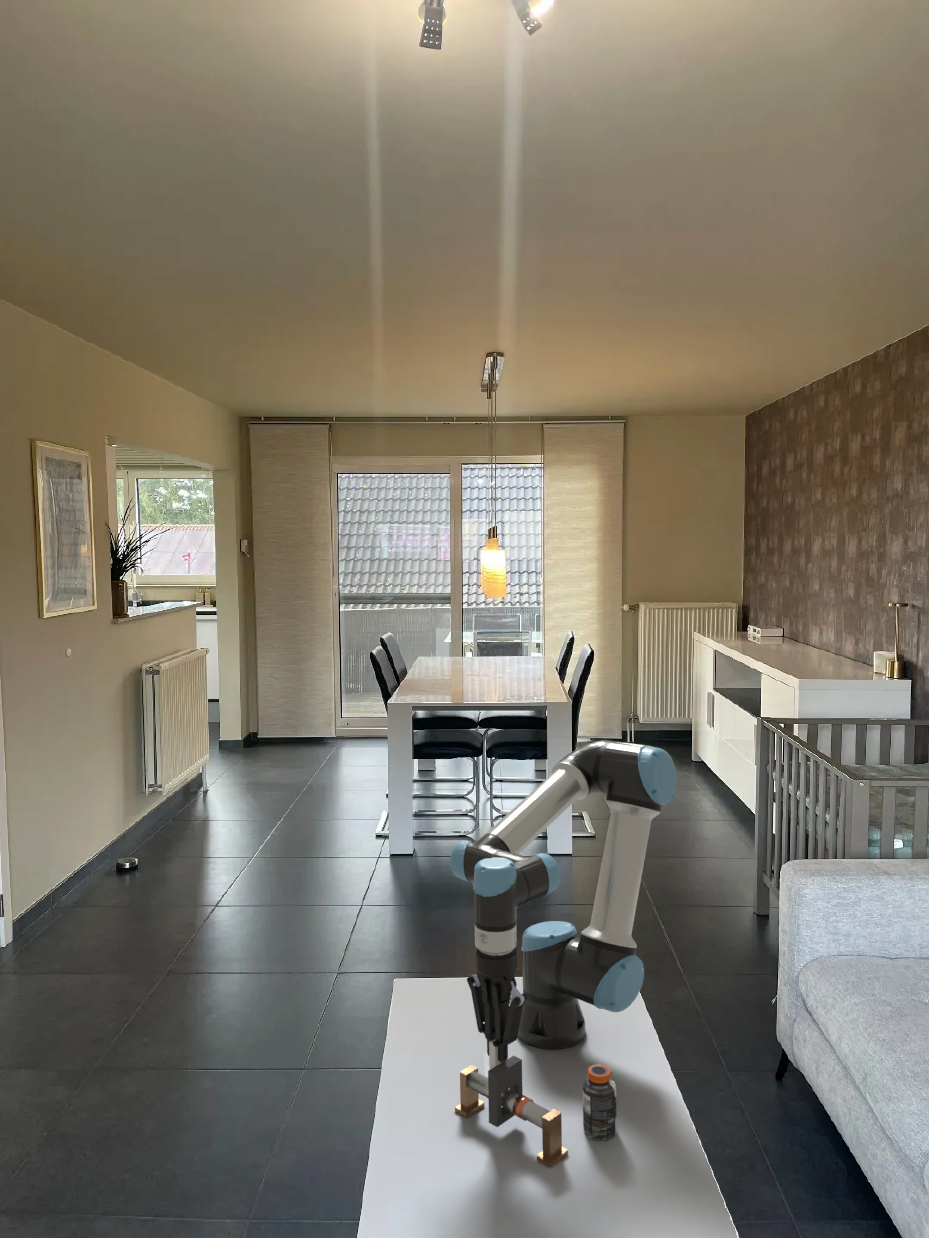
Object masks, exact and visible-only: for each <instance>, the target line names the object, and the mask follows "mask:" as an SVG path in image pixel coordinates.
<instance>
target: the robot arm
mask: <svg viewBox="0 0 929 1238" xmlns="http://www.w3.org/2000/svg"><path fill="white" fill-rule="evenodd" d="M677 777H678V775H677V769H676V765H675V764H674V761H673V758H672V756H671V754H669V753H668V752H667V751H666V749H662V748H660V747H655V746H651V745H647V744H637V743H631V742H630V743H629V742H621V741H614V740H609V739H601V740H596V741H592V742H590V743H587V744H584V745H582V746H580V747H578V748H576V749H575V750H573V751H571V752H570V753H568V754H566V755H565V756H564V757H563V758H561V759H560V760H559V761H558V762H556V763H555V764H554V766H553V767H552V769H551V774H550V775H549V776H547V778H545V780H543V781H542V782H541V783H540V784H539V785H538V786H537V787H535V789H533V790H532V792H530V793H528V795H526V796H525V798H524V799H522V800H521V801H520V802H519V803H518V804H516V805H515V807H513V809H511V810H510V811H509V812H508V813H507V814H506V815H504V817H502V818H501V819H500V820H499V821H498V822H497V823H495V825H493V826H492V827H491V828H490V829H488V831H487V832H486V833H485V834H483V835H482V836H481V837H480V838H479V839H478V840H477V841H476V842H474V840H463V841H460V842H458V843H457V844H455V846H454V848H453V849H452V851H451V854H450V858H449V866H450V870H451V872H452V874H453V875H454V876H455V877H457V879H460V880H463V881H465V882H467V883H468V884H472V890H473V908H474V910H473V912H474V945H475V949H474V967H475V970H476V973H475V974H472V975H469V976H468V977H467V978H466V982H467V984H468V986H469V989H470V993H471V998H472V1003H473V1008H474V1009H473V1010H474V1014H475V1015H474V1016H475V1020H476V1027H477V1030H478V1032H479V1033H480V1034H482V1033H483V1034H484V1037H485V1039H486V1053H487V1056H488V1057H489V1070H491V1069H492V1068H494V1067H495V1066H497V1065H499V1064H500V1063H502V1062H504V1061H505V1060H507V1059H509V1046H508V1045H510V1044H512V1043H514V1042H515V1041H517V1040H518V1039H520V1041H522V1042H524V1043H525V1044H527V1045H529V1046H532V1047H534V1048H535V1047H536V1048H538V1049H544V1050H558V1049H559V1050H560V1049H565V1048H569V1047H573V1046H575V1045H576V1044H579V1043H580V1042H581V1041H582V1040H583V1039H584V1037H585V1036H586V1020H585V1016H584V1014H583V1011H582V1009H581V1005H580V1002H579V1001H582V1002H584V1003H587V1004H590V1005H592V1006H595V1007H596V1008H597V1009H599V1010H605V1011H608V1012H612V1013H621V1012H623V1011H625V1010H627V1009H629V1007H630V1006H631V1005H632V1003H634V1001H635V1000H636V999H637V997H638V996H639V993H640V991H641V989H642V986H643V982H644V979H645V978H644V977H645V969H644V963H643V961H642V960H641V958H640V957H638V956H637V954H636V952H637V949H638V947H637V946H638V945H637V943H636V942H635V940H634V938H633V936H632V932H633V928H634V921H635V917H636V910H637V904H638V899H639V893H640V888H641V882H642V878H643V877H642V876H643V870H644V864H645V860H646V853H647V848H648V843H649V836H650V831H651V830H650V829H651V825H652V820H653V819H654V818H655V817H657V816H659V815H661V809H662V806H665V805H667V804H670V803H671V802H672V800H673V797H674V796H675V793H676V790H677V787H678V786H677V784H678V783H677V781H678V780H677V779H678V778H677ZM593 793H601V794H602V793H603V794H606V799H605V802H606V804H607V807H609V809H610V817H609V821H608V826H607V827H608V828H607V834H606V837H605V843H604V848H603V854H602V858H601V859H602V860H601V865H600V869H599V875H598V881H597V886H596V892H595V897H594V901H593V903H594V904H593V908H592V913H591V919H590V924H589V926H587V927H586V928H584V929H583V930H582V931H581V932H580V937H578V936H577V933H578V932H577V929H576V926H575V925H574V924H572V923H570V922H568V921H562V920H560V921H559V920H549V921H543V922H539V923H536V924H532V925H530V926H529V927H527V928H526V929H525V930H524V931H523V933H522V934H523V935H522V938H521V939H522V944H521V949H520V950H521V966H522V967H521V968H522V969H521V971H522V993H521V992H520V991H519V990H518V988H517V981H516V978H515V977H516V976H515V973H516V971H517V969H518V950H517V945H518V939H517V938H518V937H517V936H518V935H517V932H518V931H517V909H518V908H520V907H523V906H525V905H528V904H529V903H532V902H534V901H538V900H539V899H542V898H546V897H547V896H548V895H549V894H551V893H552V892H555V891H556V890H557V889H558V888H559V886H560V884H561V879H562V876H561V875H562V874H561V873H562V872H561V867H560V865H559V863H558V862H557V861H556V859H555V858H554V857H553V856H551V855H550V854H548V853H543V852H542V853H534V854H532V855H530V856H526V855H521V853H522V852H523V851H524V850H525V849H526V848H528V846H529V845H531V844H532V843H533V842H534V841H535V840H536V839H537V838H538V837H539V836H540V835H541V834H542V833H543V832H544V831H545V830H546V829H547V828H548V827H549V826H550V825H552V823H554V821H556V820H557V819H558V818H560V816H561V815H562V814H563V813H564V812H565V811H566V810H567V809H568V808H569V807H570V806H571V805H572V804H573V803H574V802H579V801H582V800H584V799H585V798H587V796H589V795H590V794H593Z"/></svg>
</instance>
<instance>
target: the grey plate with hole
mask: <svg viewBox="0 0 929 1238" xmlns="http://www.w3.org/2000/svg"><path fill="white" fill-rule="evenodd" d="M487 1078H488V1097H489V1099H488V1123H489V1124H491V1125H492V1126H494V1127H496V1128H498V1127H500V1126H502V1125H503V1124H505V1123H506V1122H508V1121H509V1120H511V1118H513V1117H515V1115H514V1114H513V1112H511V1111H509V1110H508V1109H506V1108H504V1107H502V1103H501V1093H503V1092H504V1091H506V1090H508V1089H510V1090H511V1091H513V1092H515V1093H517V1094H519V1095H523V1059H521V1058H519V1057H517V1056H515V1055H512V1056H511V1057H508V1058H507V1060H505V1061H504V1062H502V1063H500V1064H499V1065H497V1066H495V1067H494V1068H492V1069H491V1070H490V1069H489V1070H487Z"/></svg>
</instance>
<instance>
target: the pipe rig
mask: <svg viewBox="0 0 929 1238" xmlns="http://www.w3.org/2000/svg"><path fill="white" fill-rule="evenodd" d="M459 1092H460V1093H459V1094H460V1095H459V1097H460V1099H459V1101H460V1103H459V1104H457V1105H455V1106H454V1112H456V1113H457V1114H459V1115H461V1116H462V1117H464V1118H465V1119H467V1118H469V1117H470V1116H472V1115H473V1114H475V1113H476V1112H479V1110H481V1109H483V1108H484V1107H485V1102H484V1101H483V1100H482V1099H479V1095H481V1096H483V1097H484V1098H486V1099H488V1100H489V1097H488V1076H486V1075H484V1074H482V1073H480V1072H479V1068H478V1067H477V1066H476V1065H474V1064H470V1065H469V1066H467V1067H465V1068H464V1069H462V1070H461V1071H459ZM501 1103H502V1107H504V1108H506V1109H508V1110H509V1111H511V1112H513V1114H514V1115H515V1116H516V1117H517V1118H519V1119H521V1120H523V1121H528V1122H529V1123H531V1124H532V1125H535V1126H536V1127H538V1128H539V1129H541V1130H542V1131H541V1132H542V1134H541V1135H542V1140H541V1141H542V1151H540V1152H539V1153H538V1154H537V1155H536V1161H538V1162H539V1163H541V1164H542V1165H544V1166H546V1167H547V1168H549V1169H551V1168H553V1167H554V1166H556V1164H558V1163H559V1162H561V1160H563V1159H564V1158H565V1157H567V1156H568V1155H569V1149H567V1148H565V1147H563V1138H562V1137H563V1136H562V1135H563V1133H562V1131H563V1130H562V1124H563V1123H562V1111H559V1110H557V1109H556V1108H553V1109H551V1110H549V1109H547V1108H544V1107H543V1106H541V1105H539V1104H537V1103H536V1102H534V1100H533V1099H532V1098H530V1097H528V1096H525V1094H522V1095H519V1094H517V1093H515V1092H513V1091H511V1090H510V1088H509V1089H508V1090H506V1091H504V1092H503V1093H501ZM515 1116H514V1117H515Z"/></svg>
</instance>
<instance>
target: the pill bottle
mask: <svg viewBox="0 0 929 1238" xmlns="http://www.w3.org/2000/svg"><path fill="white" fill-rule="evenodd" d="M611 1073H612V1072H611V1068H610V1067H608V1066H606V1065H604V1064H598V1063H597V1064H593V1065H590V1066H589V1067H588V1069H587V1076H586V1078H584V1080H583V1082H582V1118H583V1119H582V1122H583V1123H582V1124H583V1132H584V1133H585V1135H586V1136H587V1137H589V1138H591V1139H593V1140H595V1141H608V1140H611V1139H613V1138H614V1137H615V1136H616V1135H617V1131H618V1121H617V1120H618V1119H617V1118H618V1115H617V1112H618V1110H617V1109H618V1108H617V1084H616V1083H615V1081H614V1079H612V1075H611Z"/></svg>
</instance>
